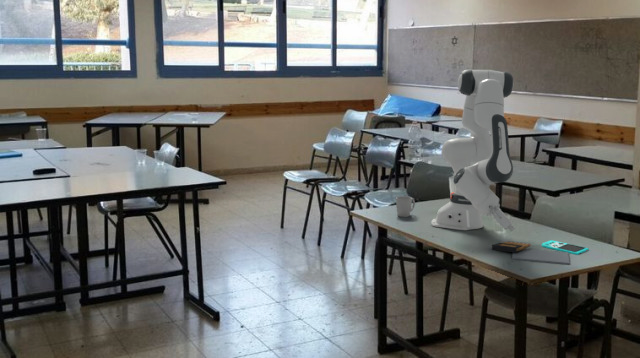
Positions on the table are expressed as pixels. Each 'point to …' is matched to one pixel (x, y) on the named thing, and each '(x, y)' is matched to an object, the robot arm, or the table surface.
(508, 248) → the ammunition clip
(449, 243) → the table surface
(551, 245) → the handheld game console
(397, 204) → the cup
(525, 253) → the rubber mat
